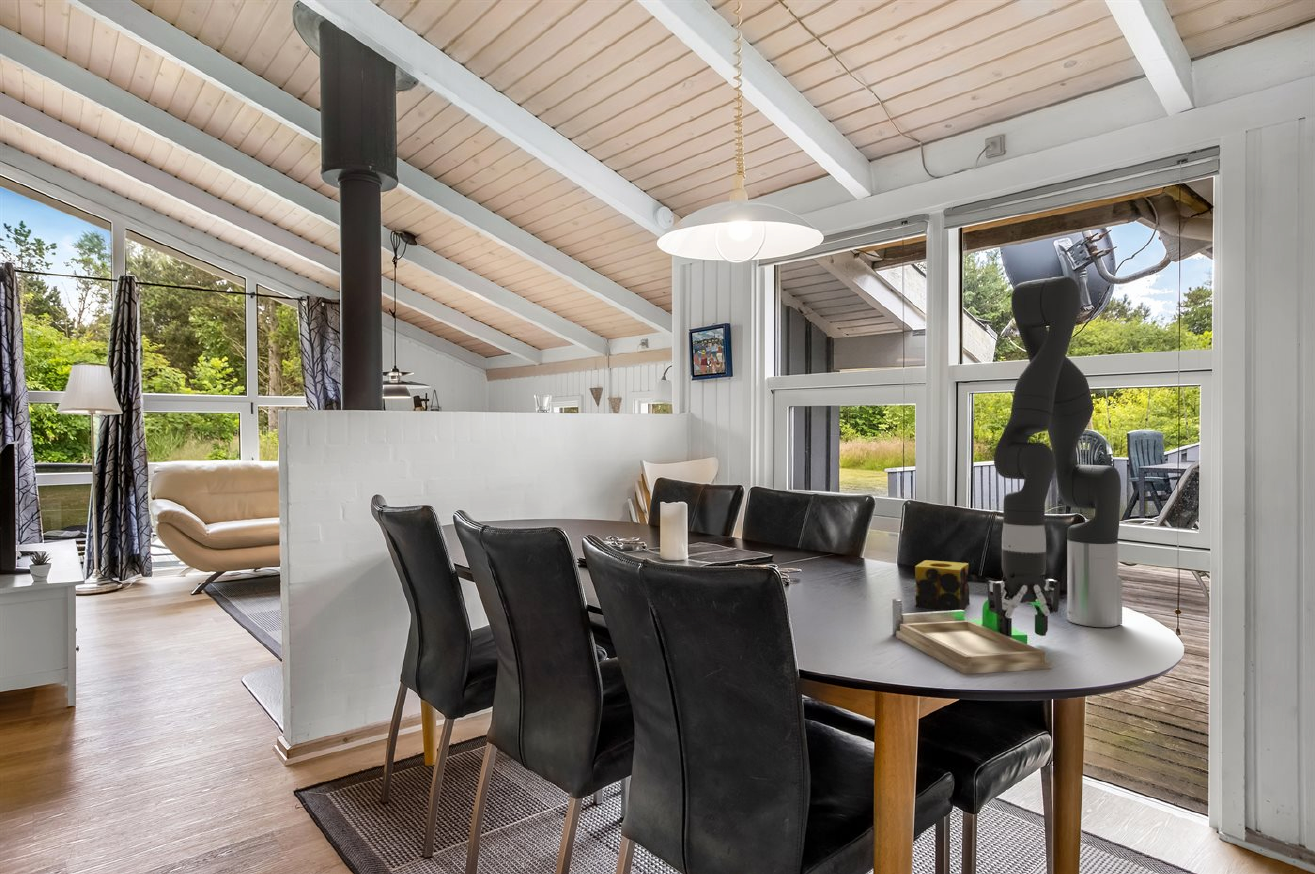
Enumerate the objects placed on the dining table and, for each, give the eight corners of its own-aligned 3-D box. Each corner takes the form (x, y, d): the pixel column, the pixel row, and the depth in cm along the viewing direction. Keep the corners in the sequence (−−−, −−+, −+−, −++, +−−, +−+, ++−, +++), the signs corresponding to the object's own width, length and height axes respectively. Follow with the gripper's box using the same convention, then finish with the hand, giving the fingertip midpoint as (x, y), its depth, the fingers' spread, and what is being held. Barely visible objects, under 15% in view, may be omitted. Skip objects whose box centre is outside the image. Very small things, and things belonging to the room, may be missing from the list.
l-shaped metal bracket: (960, 628, 152) (960, 594, 152) (965, 630, 151) (965, 596, 151) (890, 633, 149) (890, 598, 149) (895, 636, 147) (895, 600, 147)
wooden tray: (970, 632, 149) (970, 619, 149) (1050, 668, 126) (1050, 652, 126) (896, 637, 146) (896, 623, 146) (964, 674, 124) (964, 657, 124)
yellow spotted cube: (970, 605, 173) (970, 563, 173) (961, 614, 165) (961, 569, 164) (924, 600, 179) (924, 559, 178) (914, 609, 170) (914, 565, 170)
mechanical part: (1027, 645, 141) (1027, 603, 141) (996, 645, 141) (996, 603, 141) (995, 628, 153) (995, 590, 153) (966, 629, 153) (966, 590, 153)
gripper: (1002, 551, 135) (1001, 642, 135) (1071, 549, 138) (1071, 639, 138) (977, 545, 143) (977, 632, 143) (1043, 544, 145) (1043, 629, 145)
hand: (1023, 635), depth 140 cm, fingers open, 6 cm apart
